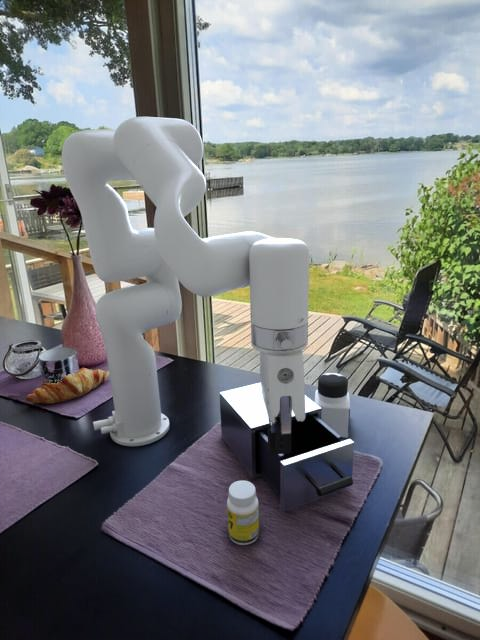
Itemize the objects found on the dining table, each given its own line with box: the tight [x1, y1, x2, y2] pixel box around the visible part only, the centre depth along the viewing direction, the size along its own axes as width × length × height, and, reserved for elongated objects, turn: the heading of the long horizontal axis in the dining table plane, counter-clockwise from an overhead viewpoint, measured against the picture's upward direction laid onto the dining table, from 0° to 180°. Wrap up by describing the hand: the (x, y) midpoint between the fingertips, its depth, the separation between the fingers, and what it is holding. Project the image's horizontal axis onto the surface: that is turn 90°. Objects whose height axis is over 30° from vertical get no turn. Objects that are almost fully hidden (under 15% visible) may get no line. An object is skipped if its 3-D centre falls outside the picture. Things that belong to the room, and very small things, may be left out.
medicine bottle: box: [313, 372, 351, 439], centre depth 92 cm, size 7×7×12 cm
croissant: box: [25, 366, 110, 405], centre depth 112 cm, size 21×10×8 cm, turn 134°
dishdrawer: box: [219, 382, 322, 480], centre depth 87 cm, size 15×15×11 cm
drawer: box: [255, 414, 355, 512], centre depth 75 cm, size 18×13×9 cm
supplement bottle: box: [226, 479, 260, 546], centre depth 66 cm, size 5×5×8 cm
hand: (279, 450), depth 64 cm, fingers closed
